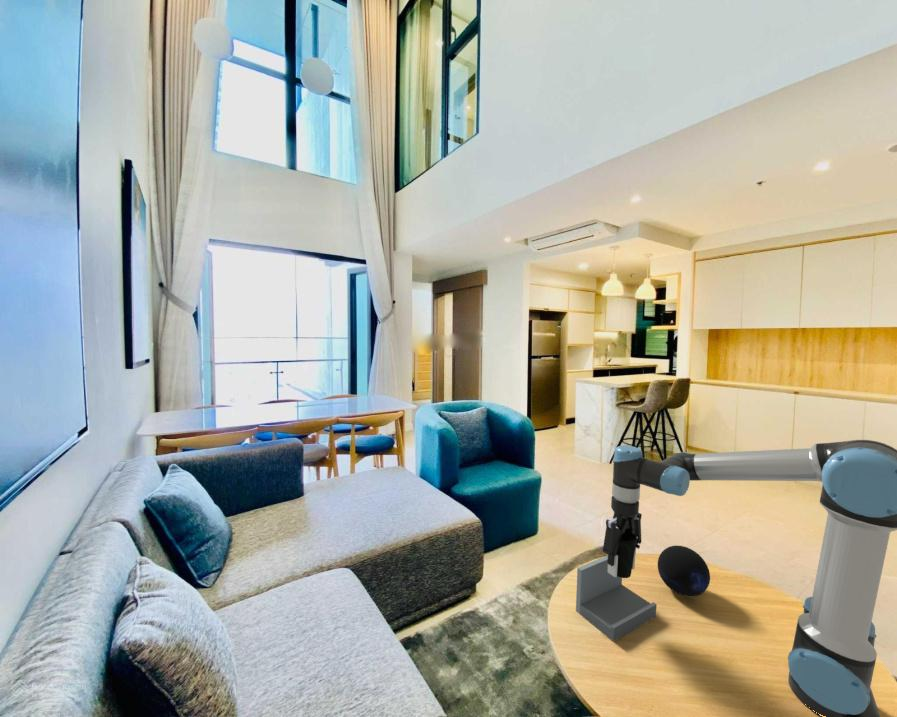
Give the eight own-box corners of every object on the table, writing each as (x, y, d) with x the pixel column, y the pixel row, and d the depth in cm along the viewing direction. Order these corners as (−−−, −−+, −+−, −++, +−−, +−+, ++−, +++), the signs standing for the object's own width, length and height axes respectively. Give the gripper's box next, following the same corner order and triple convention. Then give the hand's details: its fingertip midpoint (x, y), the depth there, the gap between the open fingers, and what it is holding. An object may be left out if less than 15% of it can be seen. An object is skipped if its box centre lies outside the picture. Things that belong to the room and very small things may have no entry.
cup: (604, 573, 114) (606, 535, 113) (610, 561, 120) (612, 525, 119) (632, 584, 110) (634, 544, 109) (636, 570, 116) (638, 533, 115)
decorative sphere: (695, 614, 117) (698, 568, 116) (647, 586, 130) (649, 544, 129) (716, 596, 125) (719, 553, 124) (670, 572, 138) (672, 532, 137)
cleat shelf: (655, 616, 116) (658, 573, 115) (613, 641, 106) (615, 594, 105) (617, 590, 127) (619, 550, 127) (575, 610, 118) (577, 567, 117)
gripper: (635, 487, 121) (631, 554, 123) (591, 499, 111) (587, 573, 113) (657, 496, 115) (653, 567, 116) (613, 510, 105) (609, 588, 106)
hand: (621, 570), depth 115 cm, fingers closed on cup, 8 cm apart
